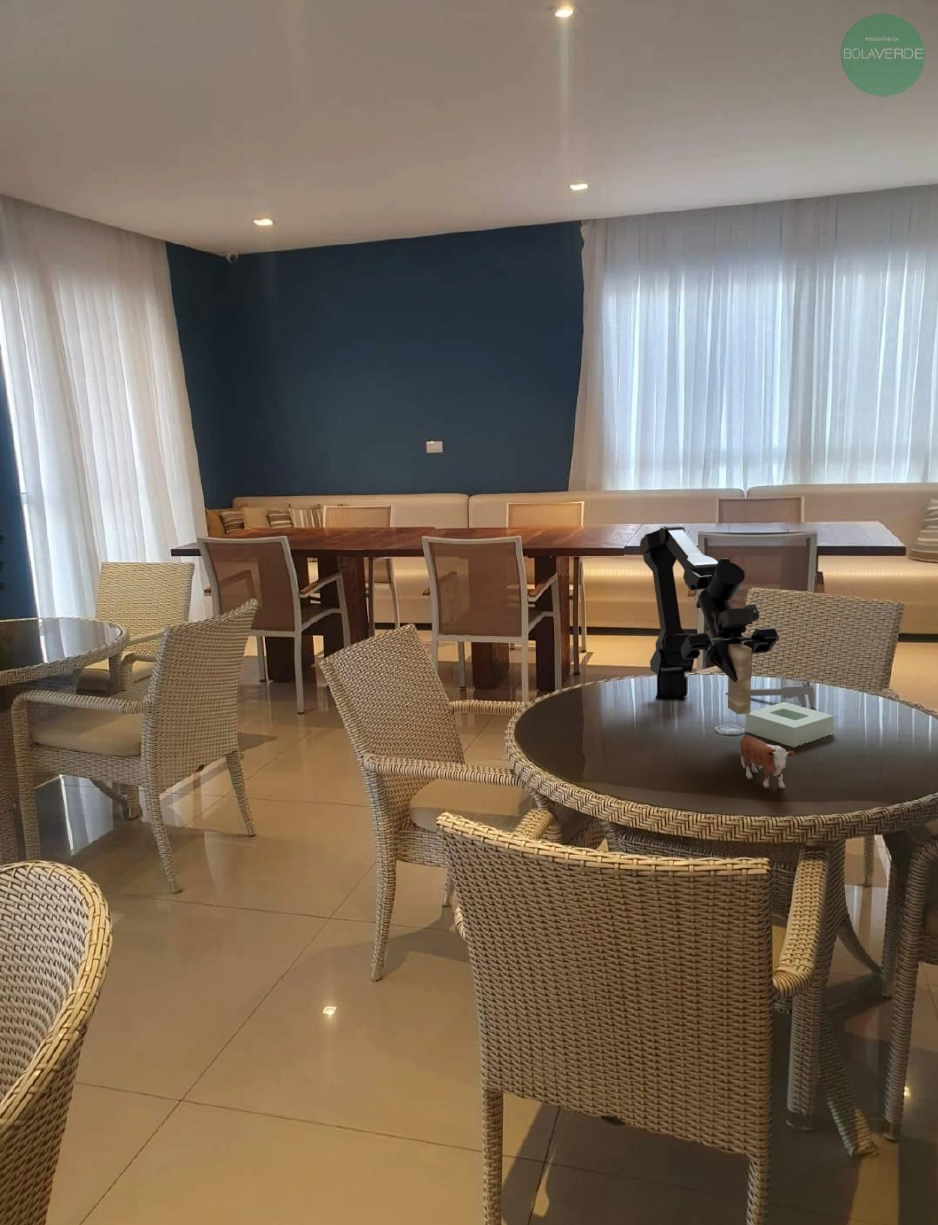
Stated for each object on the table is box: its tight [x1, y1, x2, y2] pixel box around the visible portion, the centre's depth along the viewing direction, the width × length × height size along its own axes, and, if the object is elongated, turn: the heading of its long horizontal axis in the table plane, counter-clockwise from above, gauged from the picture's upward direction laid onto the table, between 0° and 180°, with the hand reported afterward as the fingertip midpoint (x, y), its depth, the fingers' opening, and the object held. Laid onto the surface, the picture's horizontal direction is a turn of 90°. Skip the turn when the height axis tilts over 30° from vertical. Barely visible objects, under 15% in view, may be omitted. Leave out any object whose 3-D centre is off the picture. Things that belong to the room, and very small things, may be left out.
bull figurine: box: [739, 734, 795, 790], centre depth 153 cm, size 4×13×8 cm, turn 14°
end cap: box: [744, 701, 835, 748], centre depth 178 cm, size 12×12×4 cm
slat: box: [727, 644, 753, 715], centre depth 171 cm, size 2×4×13 cm, turn 10°
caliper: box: [725, 680, 816, 709], centre depth 199 cm, size 20×1×6 cm, turn 49°
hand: (742, 680), depth 169 cm, fingers closed on slat, 2 cm apart
